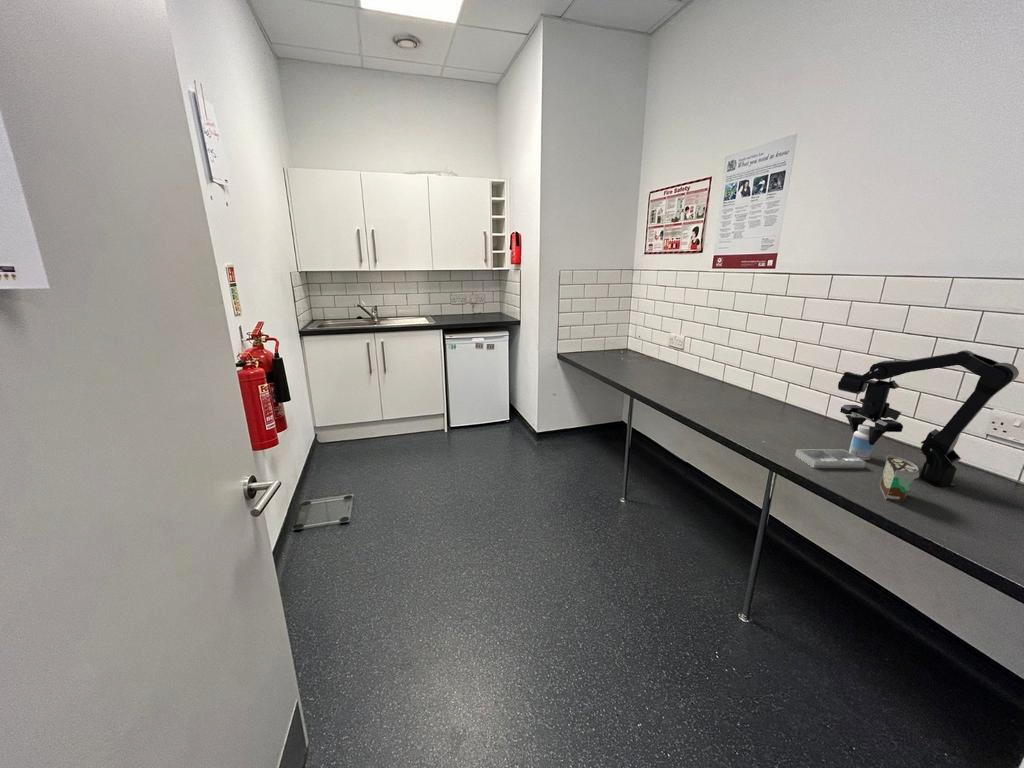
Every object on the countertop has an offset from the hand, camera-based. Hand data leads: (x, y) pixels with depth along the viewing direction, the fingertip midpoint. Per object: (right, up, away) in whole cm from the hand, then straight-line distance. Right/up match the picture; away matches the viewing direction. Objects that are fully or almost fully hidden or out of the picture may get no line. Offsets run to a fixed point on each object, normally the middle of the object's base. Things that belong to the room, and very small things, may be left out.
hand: (863, 440), depth 143 cm
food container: (-9, -13, -22) cm, 28 cm away
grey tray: (-14, -7, -2) cm, 16 cm away
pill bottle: (0, -6, +2) cm, 6 cm away
